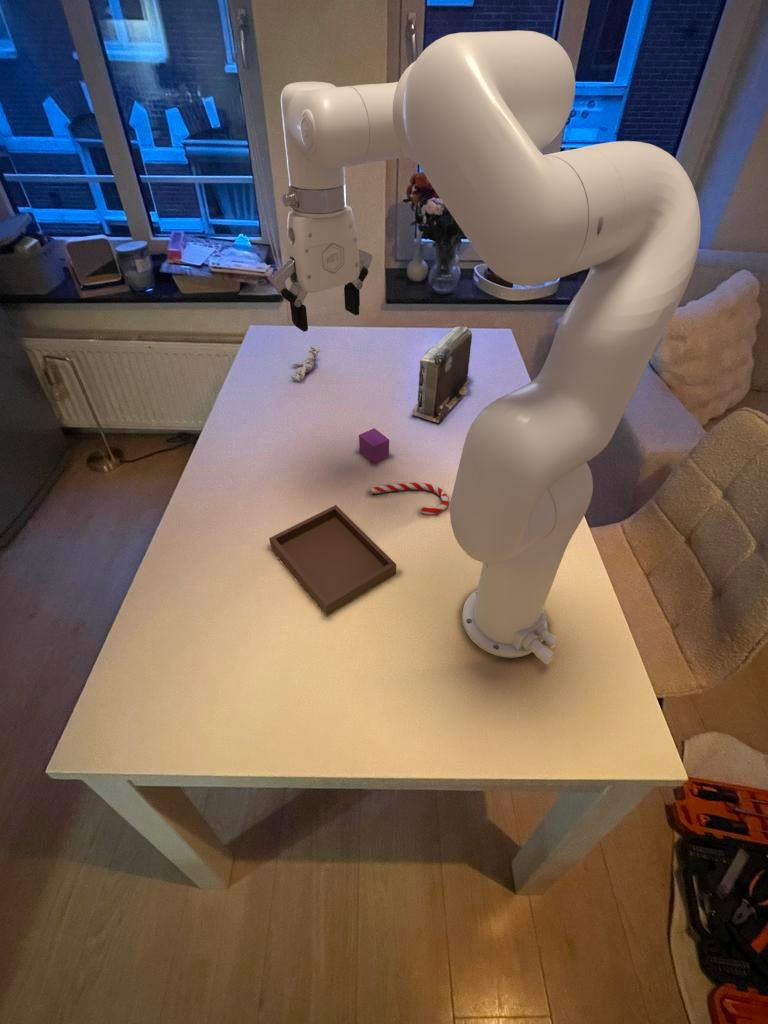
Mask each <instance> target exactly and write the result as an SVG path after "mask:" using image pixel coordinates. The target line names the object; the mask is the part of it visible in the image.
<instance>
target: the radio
mask: <svg viewBox="0 0 768 1024" xmlns="http://www.w3.org/2000/svg"><path fill="white" fill-rule="evenodd" d="M472 341H473V333H472V331H471V330H470V328H469V327H467V326H466V325H464V324H461V325H459V326H455V327H453V328H452V329H451V330H450V331H448V332H447V333H446V335H444V336H443V337H442V338H441V339H440V340H439V341H437V342H436V344H435V345H434V346H432V347H431V348H429V349H428V350H427V351H426V352H425V354H424V356H422V357H421V358H420V360H419V373H418V392H417V404H416V405H415V406H414V407H413V409H412V411H411V413H412V414H411V415H412V416H415V417H419V418H422V419H425V420H428V421H430V422H434V423H440V422H441V421H442V420H443V419H444V418H445V417H446V416H447V415H448V414H449V413H450V412H451V411H452V410H453V409H454V408H455V406H456V405H457V404H458V403H459V402H460V401H461V400H462V399H463V398H464V397H465V396H466V395H467V394H468V389H467V385H468V384H469V382H470V380H469V379H468V376H469V367H470V360H471V359H470V358H471V350H472V349H471V348H472Z"/></svg>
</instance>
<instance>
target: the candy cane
mask: <svg viewBox="0 0 768 1024" xmlns="http://www.w3.org/2000/svg"><path fill="white" fill-rule="evenodd" d="M369 490H370V494H371V495H376V494H382V493H389V492H397V491H411V490H412V491H413V490H418V491H419V490H421V491H427V492H432V493H434V494H436V495H437V496H438V497H440V500H441V502H440V504H439V505H438V506H436V507H427V506H425V507H424V506H423V507H422V508H420V509H421V510H420V512H421V513H422V514H425V515H436V514H440V513H442V512H443V511H445V510H446V509H447V508H448V506H449V496H448V494H447V493H446V492H445V491H444V490H443V489H442V488H440V487H438V486H437V485H434V484H431V483H424V482H403V483H393V484H386V485H379V486H374V487H371V488H370V489H369Z"/></svg>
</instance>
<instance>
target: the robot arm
mask: <svg viewBox="0 0 768 1024" xmlns="http://www.w3.org/2000/svg"><path fill="white" fill-rule="evenodd" d="M575 96H576V77H575V71H574V67H573V64H572V61H571V59H570V56H569V55H568V53H567V52H566V50H565V49H564V48H563V46H562V45H561V44H560V43H559V42H558V41H557V40H555V39H553V38H552V37H551V36H548V35H547V34H544V33H542V32H541V33H540V32H537V31H533V30H502V31H501V30H499V31H498V30H497V31H469V32H467V31H465V32H462V31H460V32H456V33H450V34H447V35H444V36H441V37H440V38H438V39H436V40H435V41H434V42H431V43H430V44H429V45H428V46H426V47H425V49H424V50H423V51H422V52H421V53H420V54H419V56H418V57H417V58H416V60H415V61H413V62H412V63H410V64H409V66H407V67H406V69H405V70H404V71H403V73H402V74H401V76H400V78H399V80H398V81H394V82H386V83H384V82H383V83H369V84H357V85H345V86H336V85H334V84H333V83H330V82H325V81H297V82H291V83H288V84H287V85H285V86H284V87H283V89H282V91H281V94H280V107H281V109H280V110H281V117H282V118H281V119H282V128H283V137H284V138H283V139H284V146H285V156H286V165H287V175H288V193H287V194H283V195H282V203H283V205H284V206H285V207H290V208H291V210H290V211H288V214H287V225H286V226H287V228H286V253H287V254H286V255H287V261H286V262H285V263H284V264H283V265H281V267H280V268H279V269H278V270H276V271H275V273H274V274H272V275H271V276H270V278H269V281H270V283H271V284H272V286H273V288H274V289H275V290H276V291H277V294H278V295H279V296H281V297H282V298H283V299H285V300H286V301H287V302H289V308H290V315H291V316H290V317H291V322H292V325H294V326H295V327H296V328H297V329H299V330H301V331H302V332H303V333H304V332H307V331H308V330H309V324H308V323H309V322H308V313H307V312H308V311H307V306H306V305H304V304H303V303H304V301H305V299H306V297H307V295H308V294H310V293H311V294H314V293H319V292H322V291H325V290H330V289H333V288H336V287H340V286H344V287H343V296H344V309H345V311H347V312H348V313H350V314H352V315H354V316H359V315H360V306H361V304H360V303H361V301H360V297H361V296H360V290H361V289H363V286H364V284H363V282H365V279H366V278H367V276H368V274H369V268H370V266H371V264H372V261H373V255H372V254H371V253H369V252H367V251H364V250H362V249H360V247H359V241H358V233H357V226H356V222H355V217H354V213H353V209H352V207H351V206H349V205H348V204H347V189H346V168H347V167H353V166H358V165H365V164H371V163H377V162H378V163H379V162H385V161H392V160H398V159H406V158H407V159H408V158H409V159H410V160H411V161H412V162H414V163H415V164H418V166H419V167H420V169H421V170H422V172H423V174H424V176H425V178H426V179H427V181H428V182H429V184H430V185H431V187H432V188H433V190H434V191H435V193H436V194H437V196H438V197H439V199H440V200H441V202H442V204H443V205H444V207H445V208H446V209H447V211H448V212H449V214H450V215H451V216H452V218H453V220H454V221H455V222H456V224H457V225H458V227H459V228H460V230H461V232H462V233H463V234H464V236H465V237H466V239H467V241H468V242H469V244H470V245H471V247H472V248H473V249H474V251H475V253H476V254H477V255H478V257H479V258H480V260H481V261H482V262H483V263H484V264H485V265H486V266H487V267H488V269H489V270H490V271H492V272H493V273H494V274H495V275H496V276H497V277H499V278H500V279H502V280H503V281H505V282H507V283H510V284H513V285H516V286H526V287H529V286H539V285H542V284H546V283H551V282H553V281H555V280H558V279H560V278H564V277H567V276H570V275H572V274H575V273H579V272H581V271H584V270H587V269H589V271H588V273H587V275H586V278H585V280H584V282H583V283H582V285H581V287H580V288H579V290H578V292H576V294H575V295H574V297H573V299H572V300H571V301H570V303H569V305H568V306H567V308H566V309H565V311H564V313H563V315H562V316H561V319H560V321H559V324H558V326H557V328H556V329H555V334H554V336H553V341H552V344H551V347H550V349H549V352H548V355H547V357H546V360H545V362H544V364H543V365H542V368H541V370H540V371H539V373H538V374H537V376H536V377H535V378H534V379H533V380H531V381H530V382H528V383H527V384H525V385H523V386H521V387H520V388H517V389H515V390H513V391H511V392H509V393H507V394H504V395H503V396H501V397H499V398H497V399H495V400H494V401H492V402H491V403H489V404H488V405H487V406H485V407H484V408H483V409H481V411H480V412H479V413H478V415H476V417H475V418H474V420H473V421H472V422H471V424H470V426H469V428H468V431H467V433H466V436H465V439H464V443H463V446H462V452H461V454H460V460H459V464H458V467H457V472H456V476H455V480H454V485H453V489H452V493H451V499H450V505H449V506H450V507H449V519H450V525H451V529H452V533H453V536H454V538H455V540H456V542H457V544H458V545H459V547H460V549H461V550H462V551H463V552H465V554H466V555H467V556H468V557H470V558H471V559H473V560H475V561H477V562H480V563H482V568H481V572H480V575H479V576H480V577H479V581H478V586H477V589H476V590H474V591H473V592H472V593H471V594H469V596H468V597H467V598H466V600H465V601H464V605H463V608H462V614H461V620H462V625H463V628H464V631H465V632H466V634H467V636H468V637H469V638H470V640H471V641H472V642H473V643H474V644H475V645H476V646H478V648H480V649H482V650H483V651H485V652H486V653H489V654H491V655H494V656H497V657H502V658H511V659H513V658H520V657H524V656H528V655H530V654H531V653H533V654H534V655H535V656H536V658H538V659H539V660H540V661H541V662H542V663H543V664H545V665H548V664H550V663H551V661H552V660H553V659H554V658H555V656H556V653H554V652H553V651H552V650H551V649H550V648H548V647H547V646H546V645H544V644H543V642H545V643H546V644H547V645H548V646H550V647H551V648H554V647H555V646H556V645H557V644H558V642H559V639H558V638H556V636H554V635H553V634H552V633H550V632H549V631H548V616H547V615H546V613H545V610H544V608H545V605H546V603H547V600H548V597H549V595H550V592H551V590H552V587H553V583H554V581H555V578H556V575H557V572H558V570H559V568H560V565H561V563H562V560H563V558H564V554H565V552H566V550H567V547H568V545H569V544H570V542H571V539H572V538H573V536H574V534H575V532H577V529H578V527H579V526H580V524H581V522H582V520H583V519H584V517H585V515H586V514H587V511H588V509H589V507H590V505H591V501H592V497H593V491H594V480H593V475H592V471H591V468H590V466H589V465H588V463H587V462H590V461H591V460H592V459H594V458H595V457H597V456H598V455H599V454H600V453H602V452H603V451H604V450H605V448H606V447H607V446H608V445H609V443H610V442H611V440H612V439H613V437H614V435H615V433H616V431H617V429H618V427H619V425H620V422H621V421H622V418H623V416H624V414H625V412H626V410H627V408H628V406H629V405H630V403H631V400H632V399H633V396H634V395H635V393H636V390H637V389H638V387H639V384H640V383H641V381H642V379H643V377H644V375H645V372H646V370H647V368H648V366H649V363H650V361H651V359H652V357H653V356H654V353H655V351H656V349H657V347H658V345H659V343H660V341H661V339H662V337H663V335H664V334H665V331H667V327H668V326H669V325H670V323H671V321H672V319H673V317H674V314H675V313H676V311H677V309H678V307H679V305H680V303H681V301H682V299H683V296H684V294H685V292H686V290H687V287H688V285H689V282H690V280H691V278H692V274H693V272H694V268H695V265H696V261H697V258H698V254H699V249H700V248H699V247H700V242H701V229H702V228H701V211H700V206H699V200H698V197H697V193H696V191H695V188H694V185H693V183H692V181H691V178H690V176H689V175H688V173H687V172H686V170H685V169H684V167H683V166H682V165H681V164H680V162H679V161H678V160H677V159H676V158H675V157H674V156H673V155H672V154H670V153H669V152H668V151H666V150H664V149H663V148H660V147H659V146H656V145H654V144H651V143H648V142H642V141H634V140H633V141H632V140H622V141H621V140H620V141H610V142H603V143H595V144H592V145H586V146H583V147H579V148H574V149H568V150H563V151H557V152H552V153H547V154H543V153H542V152H541V151H542V150H544V148H546V147H547V146H548V145H549V144H551V142H552V141H554V140H555V139H556V138H557V136H558V135H559V134H560V132H561V131H562V130H563V128H564V127H565V125H566V123H567V121H568V119H569V117H570V115H571V112H572V109H573V107H574V106H573V105H574V102H575V98H576V97H575ZM288 279H290V282H291V285H290V287H289V289H288V288H287V286H286V281H287V280H288Z"/></svg>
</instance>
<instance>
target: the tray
mask: <svg viewBox="0 0 768 1024" xmlns="http://www.w3.org/2000/svg"><path fill="white" fill-rule="evenodd" d="M268 540H269V544H270V549H271V550H273V552H274V553H275V554H276V556H277V557H278V558H279V560H280V561H282V563H283V564H284V565H285V567H286V568H287V569H288V571H289V572H290V573H291V574H292V575H293V576H294V577H295V579H296V580H297V581H298V582H299V583H300V585H301V586H302V587H303V589H304V590H305V591H306V593H308V595H309V596H310V597H311V599H312V600H313V601H314V602H315V603H316V604H317V606H318V607H319V608H320V610H322V612H323V613H324V614H325V615H326V616H329V615H330V614H332V613H334V612H335V611H337V610H339V609H340V608H342V607H344V606H345V605H347V604H348V603H350V602H352V601H354V600H355V599H357V598H359V597H360V596H362V595H364V594H365V593H366V592H368V591H370V590H372V589H374V588H375V587H377V586H378V585H380V584H382V583H384V582H385V581H386V580H389V579H390V578H392V577H393V576H395V575H397V563H396V562H395V561H394V560H393V559H392V558H391V557H390V556H389V555H387V553H386V552H385V551H383V549H381V548H380V547H379V545H378V544H377V543H376V542H374V541H373V540H372V539H371V537H369V535H368V534H366V533H365V531H363V529H361V528H360V527H359V525H357V524H356V523H355V522H354V521H353V520H352V519H351V518H350V517H349V516H348V515H347V514H346V513H345V512H344V511H343V510H342V509H341V508H340V507H339V506H338V505H337V504H335V505H333V506H331V507H329V508H326V509H325V510H322V511H320V512H319V513H317V514H315V515H313V516H310V517H309V518H306V519H305V520H302V521H301V522H298V523H297V524H295V525H292V526H291V527H288V528H287V529H285V530H282V531H280V532H278V533H277V534H274V535H273V536H270V537H269V538H268Z"/></svg>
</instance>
